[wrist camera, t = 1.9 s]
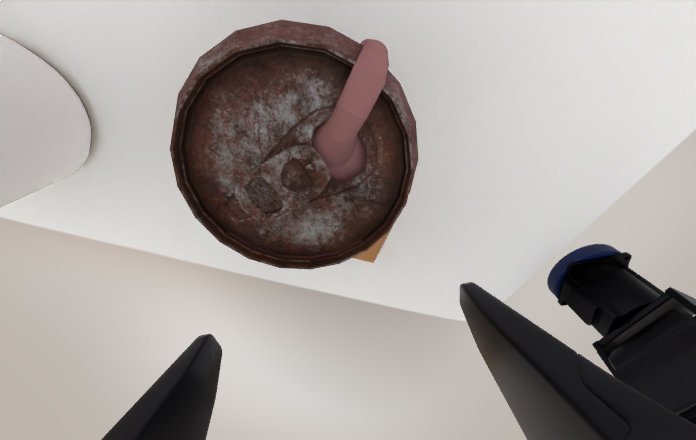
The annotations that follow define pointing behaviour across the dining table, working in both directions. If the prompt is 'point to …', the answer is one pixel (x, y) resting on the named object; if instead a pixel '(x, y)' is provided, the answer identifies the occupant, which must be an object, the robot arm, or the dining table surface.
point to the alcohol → (37, 124)
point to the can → (294, 144)
